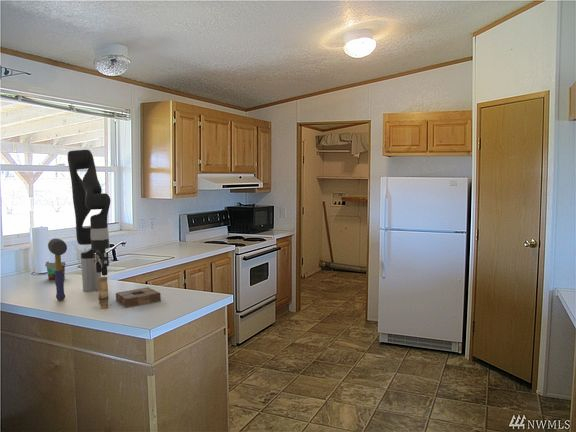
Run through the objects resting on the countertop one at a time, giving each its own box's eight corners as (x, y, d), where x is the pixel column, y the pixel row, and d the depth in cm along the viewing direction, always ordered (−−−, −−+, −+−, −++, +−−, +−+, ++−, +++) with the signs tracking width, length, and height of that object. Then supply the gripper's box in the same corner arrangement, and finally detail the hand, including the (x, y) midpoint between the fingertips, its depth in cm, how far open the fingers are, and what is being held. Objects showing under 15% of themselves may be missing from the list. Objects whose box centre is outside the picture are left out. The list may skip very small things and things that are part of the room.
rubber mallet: (50, 298, 231) (46, 238, 228) (67, 296, 235) (63, 236, 232) (54, 304, 221) (49, 241, 218) (71, 301, 225) (67, 239, 222)
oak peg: (97, 307, 213) (96, 277, 212) (107, 306, 216) (105, 276, 215) (100, 309, 210) (98, 278, 209) (110, 307, 213) (108, 277, 211)
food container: (41, 280, 274) (39, 263, 273) (48, 277, 280) (47, 261, 279) (59, 280, 271) (58, 263, 270) (66, 278, 277) (65, 261, 276)
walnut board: (116, 301, 224) (115, 292, 224) (148, 295, 234) (148, 287, 234) (127, 307, 212) (126, 299, 212) (160, 301, 222) (160, 292, 222)
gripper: (86, 237, 214) (88, 272, 215) (95, 240, 202) (97, 277, 204) (103, 236, 218) (105, 270, 219) (113, 238, 207) (115, 275, 208)
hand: (101, 273), depth 212 cm, fingers open, 8 cm apart
